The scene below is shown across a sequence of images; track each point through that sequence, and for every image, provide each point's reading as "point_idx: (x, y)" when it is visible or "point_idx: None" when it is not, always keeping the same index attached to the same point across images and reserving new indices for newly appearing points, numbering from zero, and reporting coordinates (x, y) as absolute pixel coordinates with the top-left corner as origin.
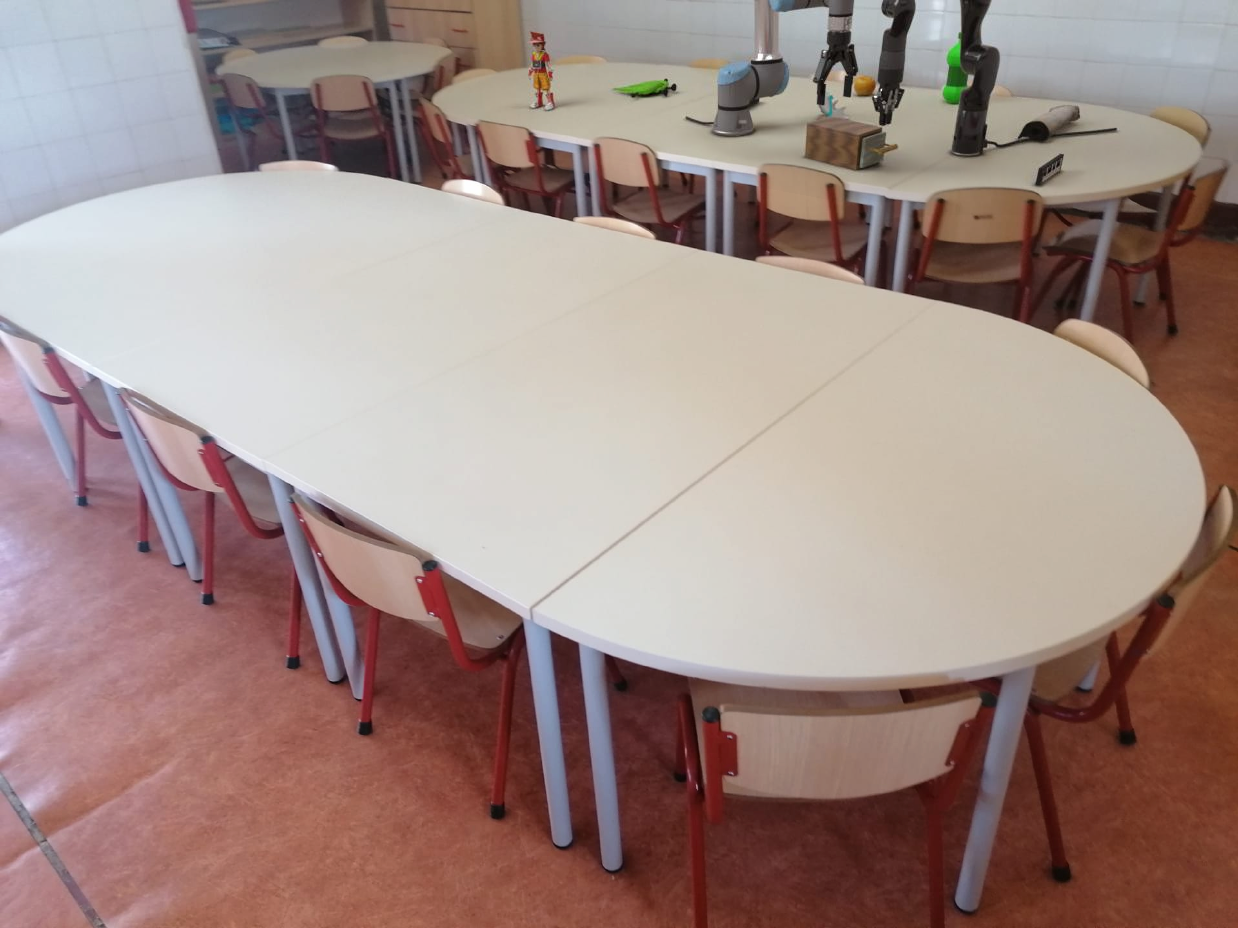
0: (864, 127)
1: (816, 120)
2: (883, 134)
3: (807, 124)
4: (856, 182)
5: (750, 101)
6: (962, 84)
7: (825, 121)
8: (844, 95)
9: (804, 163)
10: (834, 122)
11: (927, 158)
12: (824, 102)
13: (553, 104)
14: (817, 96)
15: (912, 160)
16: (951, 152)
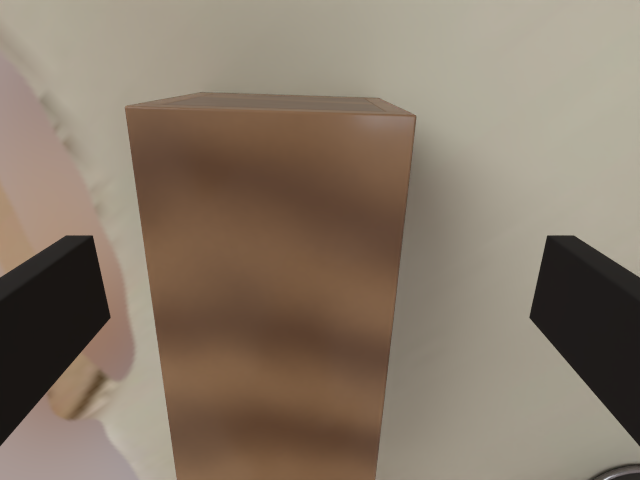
0: (310, 443)
1: (235, 116)
2: None
3: (128, 112)
4: (123, 435)
5: None
6: None
7: (260, 193)
8: (551, 260)
9: (130, 160)
10: (284, 258)
11: (502, 452)
12: (90, 334)
13: None
14: (7, 278)
15: (452, 432)
16: (598, 477)
